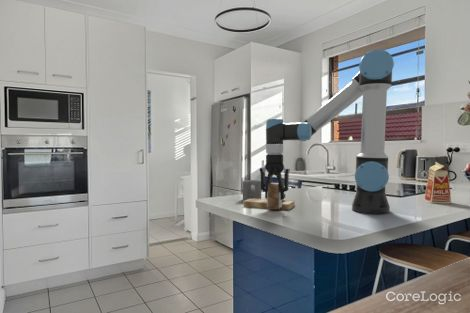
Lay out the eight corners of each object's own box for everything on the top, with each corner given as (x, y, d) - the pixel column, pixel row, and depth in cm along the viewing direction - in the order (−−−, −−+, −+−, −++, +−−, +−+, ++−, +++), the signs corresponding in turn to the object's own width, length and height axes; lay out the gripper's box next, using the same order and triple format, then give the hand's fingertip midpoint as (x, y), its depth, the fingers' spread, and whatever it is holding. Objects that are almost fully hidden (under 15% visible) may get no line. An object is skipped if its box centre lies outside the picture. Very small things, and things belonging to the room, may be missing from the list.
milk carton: (423, 200, 166) (424, 161, 165) (443, 200, 165) (443, 161, 164) (432, 203, 157) (432, 162, 156) (452, 203, 156) (453, 162, 155)
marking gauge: (287, 203, 154) (287, 180, 154) (277, 209, 140) (277, 184, 139) (278, 202, 156) (278, 180, 156) (267, 208, 142) (267, 183, 141)
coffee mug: (244, 198, 177) (244, 180, 177) (262, 198, 175) (262, 180, 175) (240, 202, 164) (239, 182, 164) (259, 202, 162) (259, 183, 162)
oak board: (294, 206, 152) (294, 200, 152) (289, 210, 143) (289, 204, 143) (251, 203, 161) (251, 197, 161) (243, 206, 152) (243, 201, 152)
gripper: (296, 153, 142) (296, 206, 143) (258, 153, 149) (258, 203, 150) (292, 154, 135) (291, 209, 136) (252, 154, 142) (252, 206, 143)
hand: (274, 206), depth 143 cm, fingers closed on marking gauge, 4 cm apart
